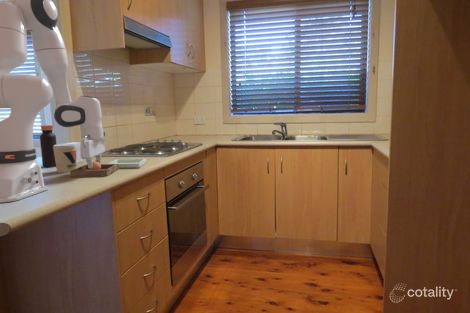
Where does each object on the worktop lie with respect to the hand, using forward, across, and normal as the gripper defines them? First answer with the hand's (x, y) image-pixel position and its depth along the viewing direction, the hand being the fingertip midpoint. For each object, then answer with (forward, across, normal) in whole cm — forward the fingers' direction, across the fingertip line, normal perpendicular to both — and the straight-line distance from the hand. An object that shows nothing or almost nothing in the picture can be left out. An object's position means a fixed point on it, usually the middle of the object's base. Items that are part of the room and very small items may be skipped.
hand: (94, 165), depth 144 cm
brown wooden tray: (+3, -1, -1) cm, 3 cm away
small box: (+4, +29, +21) cm, 36 cm away
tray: (+3, +16, -10) cm, 19 cm away
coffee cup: (+3, +6, +14) cm, 16 cm away
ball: (0, -1, -1) cm, 1 cm away
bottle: (+4, +20, +28) cm, 35 cm away
